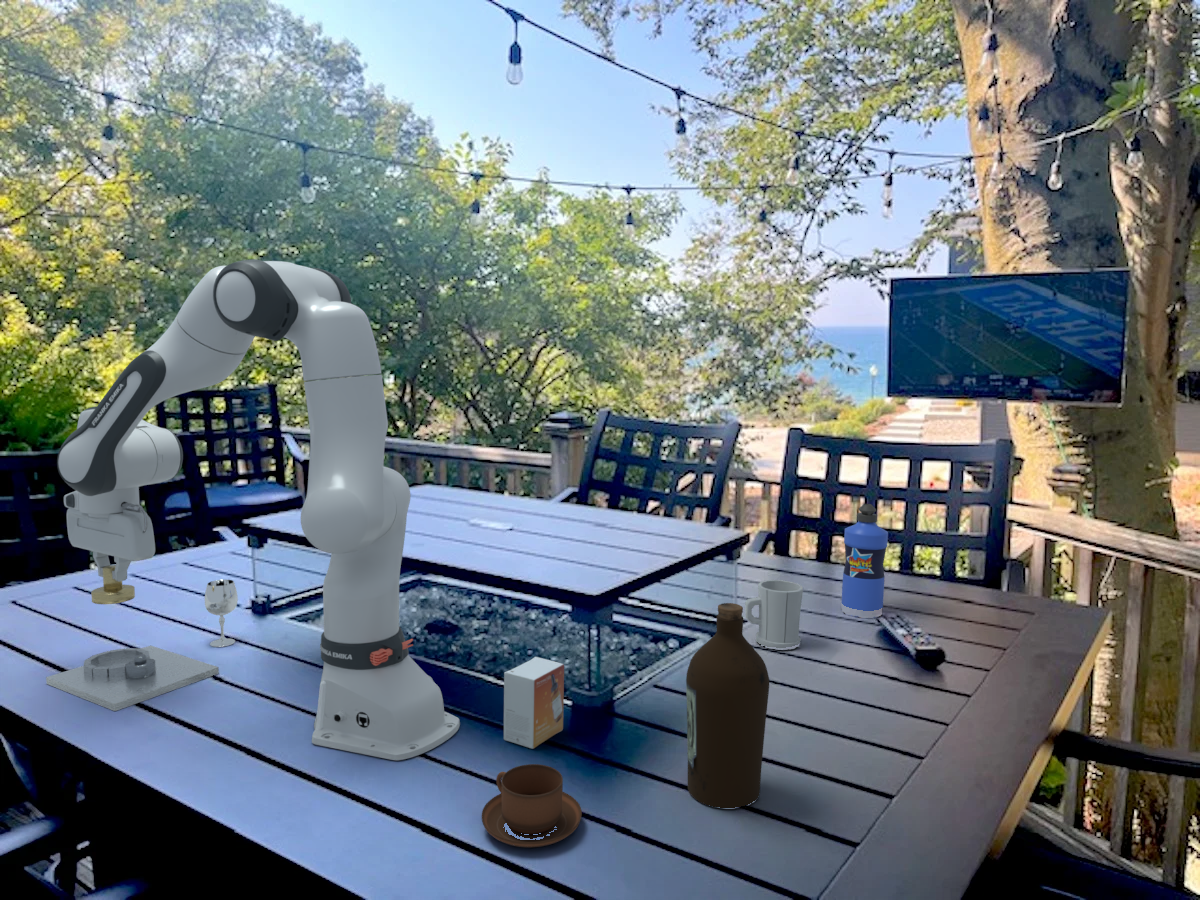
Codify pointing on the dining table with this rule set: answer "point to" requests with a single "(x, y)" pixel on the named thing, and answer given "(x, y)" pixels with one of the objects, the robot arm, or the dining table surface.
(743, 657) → the olive oil
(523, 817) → the cup and saucer
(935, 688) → the dining table surface
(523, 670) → the small box
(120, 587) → the brass flanged cylinder
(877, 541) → the water bottle
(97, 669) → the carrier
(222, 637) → the wineglass
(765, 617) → the cup
